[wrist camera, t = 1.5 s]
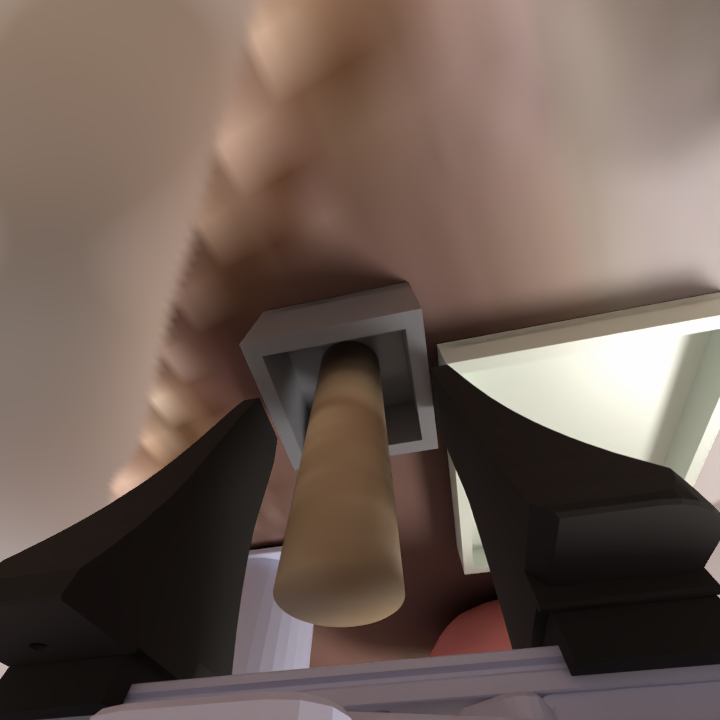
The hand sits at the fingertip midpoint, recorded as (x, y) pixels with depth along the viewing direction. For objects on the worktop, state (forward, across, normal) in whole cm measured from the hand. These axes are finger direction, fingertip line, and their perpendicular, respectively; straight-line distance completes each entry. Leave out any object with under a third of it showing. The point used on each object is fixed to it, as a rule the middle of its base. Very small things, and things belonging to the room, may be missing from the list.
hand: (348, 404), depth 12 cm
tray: (+3, -10, +8) cm, 13 cm away
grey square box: (+3, 0, 0) cm, 3 cm away
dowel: (+3, 0, 0) cm, 3 cm away
